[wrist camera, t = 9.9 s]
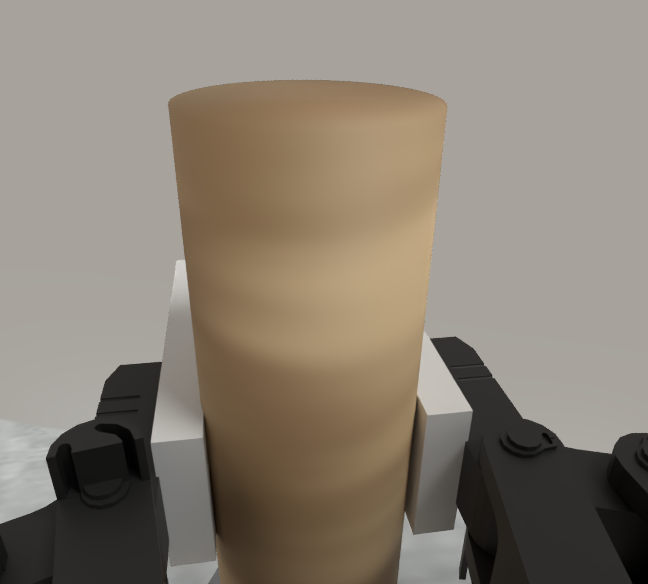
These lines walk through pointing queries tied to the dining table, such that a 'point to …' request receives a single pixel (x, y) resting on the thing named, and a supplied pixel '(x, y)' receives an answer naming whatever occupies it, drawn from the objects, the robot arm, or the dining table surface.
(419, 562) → the dining table surface
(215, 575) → the socket block
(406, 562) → the dining table surface
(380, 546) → the oak dowel
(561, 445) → the robot arm
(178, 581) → the dining table surface
